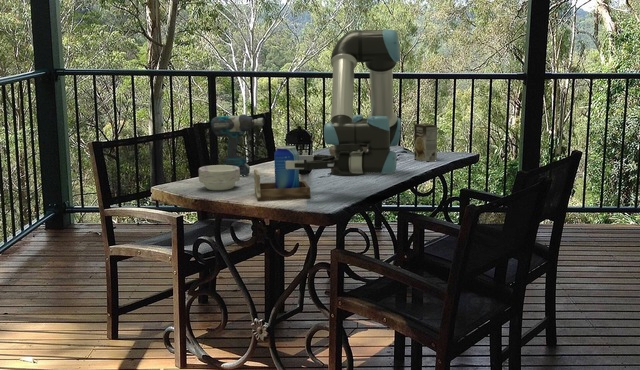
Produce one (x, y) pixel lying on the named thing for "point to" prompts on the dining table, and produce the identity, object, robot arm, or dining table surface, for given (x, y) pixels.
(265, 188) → the open wooden box
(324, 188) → the dining table surface
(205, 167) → the paper bowls
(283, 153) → the beer can
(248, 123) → the cordless power drill
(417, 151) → the coffee box
